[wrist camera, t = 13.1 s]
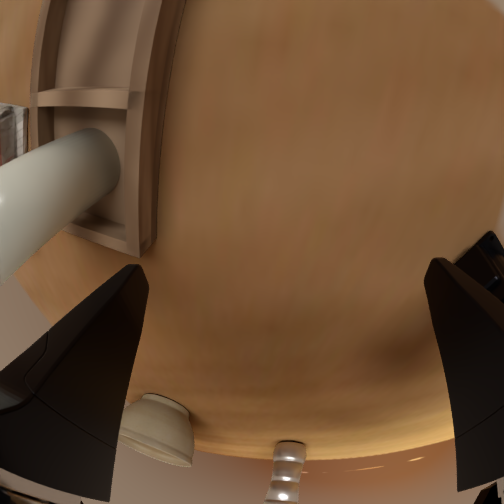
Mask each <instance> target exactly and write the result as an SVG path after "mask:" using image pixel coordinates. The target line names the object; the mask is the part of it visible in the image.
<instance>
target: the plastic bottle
mask: <svg viewBox="0 0 504 504" xmlns="http://www.w3.org/2000/svg"><path fill="white" fill-rule="evenodd" d="M305 458H306V448H305V446H304V445H303V444H300V443H295V442H281V443H278V444H277V445H276V447H275V449H274V452H273V461H274V464H273V475H272V481H271V484H270V487H269V490H268V493H267V496H266V499H265V501H264V504H298V491H299V481H300V475H301V471H302V467H303V464H304V462H305Z"/></svg>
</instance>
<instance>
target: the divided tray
mask: <svg viewBox="0 0 504 504" xmlns="http://www.w3.org/2000/svg"><path fill="white" fill-rule="evenodd" d="M185 2H186V0H43V1H42V6H41V10H40V14H39V19H38V24H37V30H36V36H35V42H34V50H33V58H32V69H31V83H30V136H31V151H32V150H34V149H36V148H38V147H40V146H42V145H45V144H47V143H49V142H52V141H54V140H56V139H59V138H61V137H63V136H66V135H68V134H71V133H74V132H76V131H79V130H82V129H84V128H96V129H99V130H101V131H103V132H104V133H105V134H106V135H107V136H108V137H109V138H110V139H111V140H112V142H113V143H114V145H115V147H116V149H117V152H118V155H119V160H120V176H119V180H118V182H117V185H116V186H115V188H114V189H113V190H112V191H111V192H110V193H109V194H107V195H106V196H105V197H103V198H102V199H100V200H99V201H98V202H96V203H95V204H94V205H92V206H91V207H90V208H88V209H87V210H86V211H84V212H83V213H82V214H81V215H79V216H78V217H77V218H75V219H74V220H73V221H72V222H70V223H69V224H68V225H67V226H66V227H64V228H63V229H62V230H63V231H65V232H68V233H70V234H73V235H76V236H78V237H81V238H84V239H86V240H89V241H92V242H95V243H97V244H100V245H103V246H106V247H108V248H111V249H114V250H117V251H120V252H123V253H125V254H128V255H131V256H134V257H137V258H141V256H142V255H143V254H144V253H145V251H146V250H147V249H148V248H149V247H150V245H151V244H152V243H153V242H154V241H155V239H156V229H157V198H158V179H159V165H160V152H161V141H162V131H163V122H164V114H165V106H166V99H167V92H168V85H169V79H170V73H171V67H172V61H173V56H174V51H175V46H176V41H177V36H178V31H179V27H180V22H181V18H182V14H183V10H184V6H185Z"/></svg>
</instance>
